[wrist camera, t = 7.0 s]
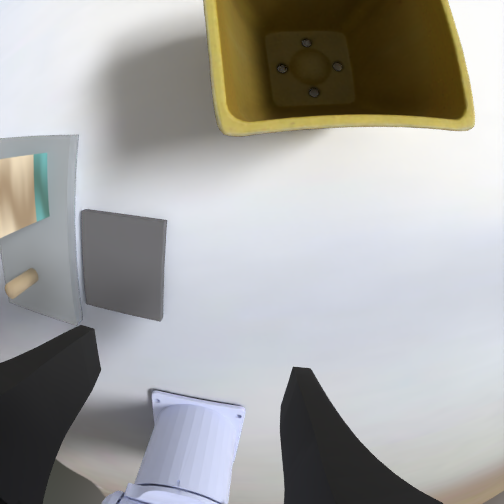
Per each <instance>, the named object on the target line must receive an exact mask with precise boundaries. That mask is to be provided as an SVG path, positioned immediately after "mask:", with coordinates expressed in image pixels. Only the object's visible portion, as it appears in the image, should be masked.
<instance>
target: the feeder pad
mask: <svg viewBox="0 0 504 504" xmlns="http://www.w3.org/2000/svg"><path fill="white" fill-rule="evenodd" d="M166 227H167V220H162V219H155V218H148V217H141V216H133V215H126V214H119V213H111V212H104V211H96V210H89V209H86V210H83V211H82V251H83V269H84V282H85V293H86V302H87V304H89V305H92V306H96V307H100V308H104V309H108V310H112V311H116V312H120V313H124V314H129V315H133V316H137V317H142V318H146V319H151V320H156V321H161V320H162V318H163V288H164V261H165V243H166Z"/></svg>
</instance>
